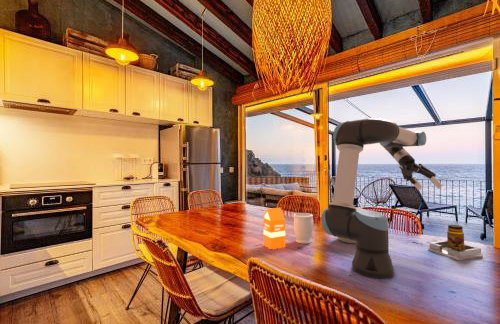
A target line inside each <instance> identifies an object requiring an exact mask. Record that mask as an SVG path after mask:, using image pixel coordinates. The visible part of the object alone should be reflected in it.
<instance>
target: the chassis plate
mask: <svg viewBox="0 0 500 324" xmlns="http://www.w3.org/2000/svg"><path fill="white" fill-rule="evenodd" d="M447 244H448V243H447V239H446V240H440V241H433V242H432V241H431V242H429V247H428V249H427V250H428V251H431V252H433V253H436V254H439V255H441V256H444V257H448V258H450V259H454V260H456V261H463V260H470V259H475V258H480V257H481V258H482V257H483V256H484V255H483V253H482V248H481V247H477V246H474V245H469V244H466V243H464V250H460V251H458V250H454V249H451V248H448V245H447ZM442 248H448V251H446V250H444V249H442Z"/></svg>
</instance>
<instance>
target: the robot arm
mask: <svg viewBox="0 0 500 324" xmlns="http://www.w3.org/2000/svg"><path fill="white" fill-rule="evenodd" d="M332 139H333V143H334V145H335V146H336V149H337V150H338V152H339V153H338V160H337V167H336V176H335V181H334V182H335V183H334V188H333V189H334V191H333V197H332V201H331V202H329V203H328V207H327V208H325V209H323V211H322V213H321V221H320V222H321V226H322V229H323V231H324V232H325V233H326V234H328V235H330V236H333V237H336V238H338V237H341V238H345V239H349V240H354V241H356V243H355V253H354V256H353V259H352V262H351V269H352V270H353V272H354V273H357V274H358V275H360V276H363V277H366V278H371V279H375V280H377V279H378V280H386V279H387V280H388V279H391V278H394V275H395V267H394V265H393V262H392V258H391V256H390V252H389V250H390V249H389V221H388V217H387V216H386V215H385V214H383V213H381V212H378V211H376V210H371V209H364V208H362V209H361V210H357V211H356V208H355V207H356V206H355V205H354V199H355V191H356V183H357V176H358V175H357V173H358V165H359V156H360V153H362V151H364V146H366V145H373V144H375V145H376V144H379V145H380V146H381V147H383V148H384V150H386V151H387V153H389V154H390V156H391V157H392V158H393V159H394V160H395V161H396V163H397V164H398V165H399V166H398V167H399V169H400V171H401V173H402V174H401V175H402V177H403V179H404V180H406V182H410V183H411V184H412V185H413V186H414V187H415V188H416V190H417V191H419V190H421V189H422V188H423V185H422V184H421V183H420V181H418V180H417V178H415V177H414V176H413V173H416V174H420V175H422V176H424V177H426V178H428V179H429V181H430V182H431V184H432V185H434V187H436V188H437V189H438V190H439V189H440V188H442V187H443V184H442V183H441V182H440V181H439V179H437V178H436V176H437V174H436V173H435V172H433V171H431V170H430V169H429V168H427V167H425V166H424V165H423V164H422V163H418V164H417V163H415V161H416V160H415V158H414V157H413V156H412V155H411V154H410V152H408V151H407V150H406V149H405V148H404V147H422V146H425V145H426V143H427V134H426V133H425V131H412V130H410V129H409V130H408V129H406V128H403V127H400V126H399V125H398V124H397V123H396V122H393V121H391V120H387V119H383V118H377V117H376V118H374V117H368V118H362V119H355V120H351V121H350V120H347V121H343V122H340V123H338V124H337V125H336V126H335V128H334V130H333V134H332ZM363 209H364V210H363Z"/></svg>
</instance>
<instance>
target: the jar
mask: <svg viewBox="0 0 500 324" xmlns="http://www.w3.org/2000/svg"><path fill="white" fill-rule="evenodd" d="M313 216H314V215H313V213H308V212H296V213H293V218H294V219H293V230H294V236H295V238H296V239H295V242H297V243H298V244H304V245H305V244H310V243H312V239H311V238H312V236H313V229H314V221H313Z"/></svg>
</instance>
